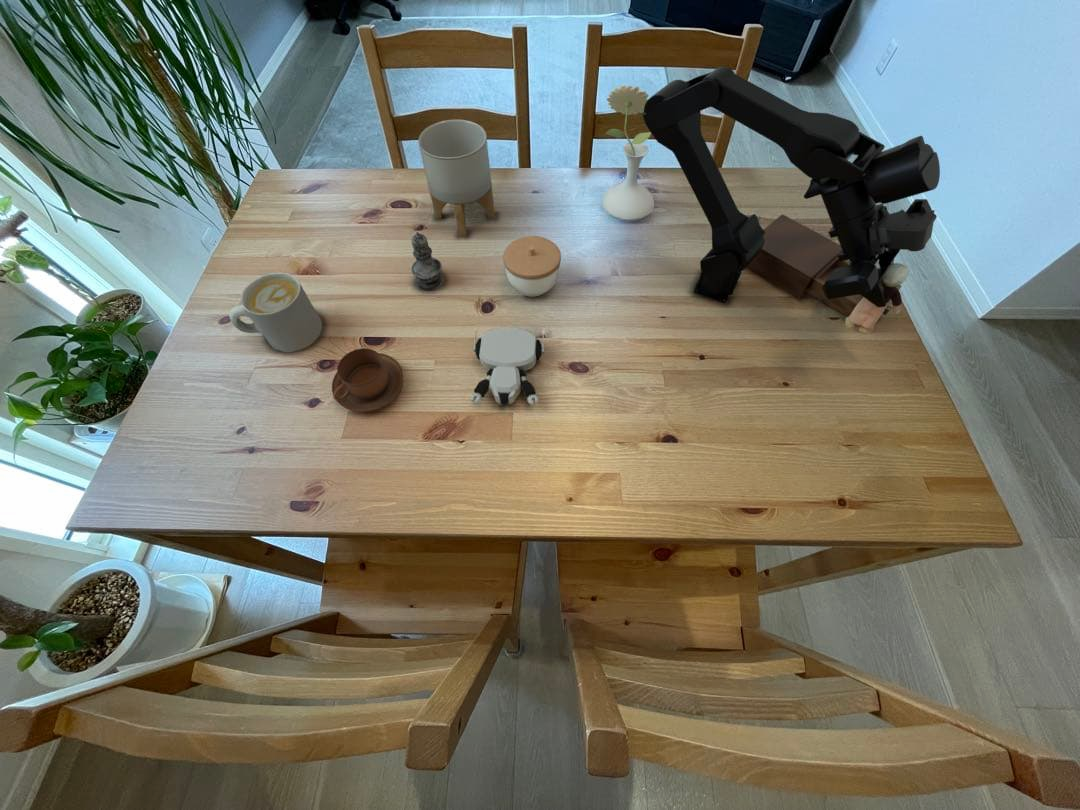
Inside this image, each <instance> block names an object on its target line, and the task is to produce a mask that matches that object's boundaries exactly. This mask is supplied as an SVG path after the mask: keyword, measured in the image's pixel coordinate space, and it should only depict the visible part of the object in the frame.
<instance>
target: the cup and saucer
mask: <svg viewBox="0 0 1080 810" xmlns="http://www.w3.org/2000/svg"><path fill="white" fill-rule="evenodd" d="M336 368H337V369H336V372H335V375H333V376H334V377H333V378H332V383H331V392H332V395H333V399H334V400H335V401H336V402H337V403H338V404H339V405H340V406H341V407H343V408H344V409H347V410H349V411H353V412H356V413H367V412H373V411H376V410H379V409H381V408H383V407H385V406H387V405H388V404H390V403H392V401H393V400H394V399H395V398H396V397H397V395H398V394H399V393H400V391H401V389H402V387H403V383H404V372H403V368H402V366H401V364H400V362H398V360H396V359H395V358H394V357H393V356H390V355H388V354H386V353H381V352H378V351H376V350H374V349H371V348H368V347H367V348H365V347H364V348H362V347H361V348H357V349H353V350H351V351H349V352H347V353H346V354H345V355H344V356H342V358H341V359H340V361H339V362H338V364H337V367H336Z"/></svg>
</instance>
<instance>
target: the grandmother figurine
mask: <svg viewBox="0 0 1080 810" xmlns="http://www.w3.org/2000/svg"><path fill="white" fill-rule="evenodd" d="M909 273H910V269H909V268H908V266H907V265H905V264H903V263H898V262H894V264H891V265H889V268H888V270H887V271H886V273H885V274H884V276H883V277H882V281H883V287H884V292H885V298H886V306H885V307H877V306H875V305H874V304H873V303H871V302H870V301H868V300H867V299H866V298H864V297H863V298H862V299H861V301H860V302H859V303H858V304H857V306H856V307H855V308H854V310H853V311H852V313H851V315H850V316H846V318H845V322H844V323H845V327H846V328H847V329H851V330H854V329H856V328H857V325H861V326H860V327H858V331H859V332H860V333H861V334H863V335H868V334H870V333H872V332H873V331H874V330H875V324H876V323H877V322H878V321H879V319H880V318H881V316H882V315H883V314H882V313H883V312H884V310H885V308H886V307H887V305H889V304H888V303H889V302H891V305H892V310H891V313H892V315H895V316H897V315H899V314H900V312H901V310H900V309H901V306H902V304H903V300H902V294H901V291H900V289H899V290H898V289H897V288H896V287H895V286H897V285H899V284H900V285H902V284H903V283H904V282H906V280H907V279H908V277H909ZM890 299H891V300H890ZM889 300H890V301H889ZM888 301H889V302H888Z"/></svg>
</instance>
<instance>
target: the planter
mask: <svg viewBox="0 0 1080 810" xmlns="http://www.w3.org/2000/svg"><path fill="white" fill-rule="evenodd" d="M487 138H488V137H487V132H486V130H485V129H484V127H482V126H481V125H479V123H476V122H475V121H474V122H473V121H470V120H467V119H446V120H442V121H438V122H436V123H433V124H431V125H429V126H427V127H426V128H424V129H423V130H422V131H421V133H420V134H419V137H418V140H417V141H418V148H419V151H420V156H421V161H422V165H423V169H424V174H425V178H426V182H427V187H428V190H429V195H430V200H431V203H432V208H433V213H434V218H435V220H442V218H443V209H444V208H445V206H446V205H452V206H453V211H454V216H455V221H456V228H457V232H458V237H467V224H466V205H469V204H472V203H474V202H475V203H476V204H478V205H480V206H481V207H482V208H483V209H484V210H485V212H486V214H487V216H488V220H495V218H496V210H495V202H494V201H495V200H494V192H493V183H492V174H491V165H490V156H489V147H488V139H487Z"/></svg>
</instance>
